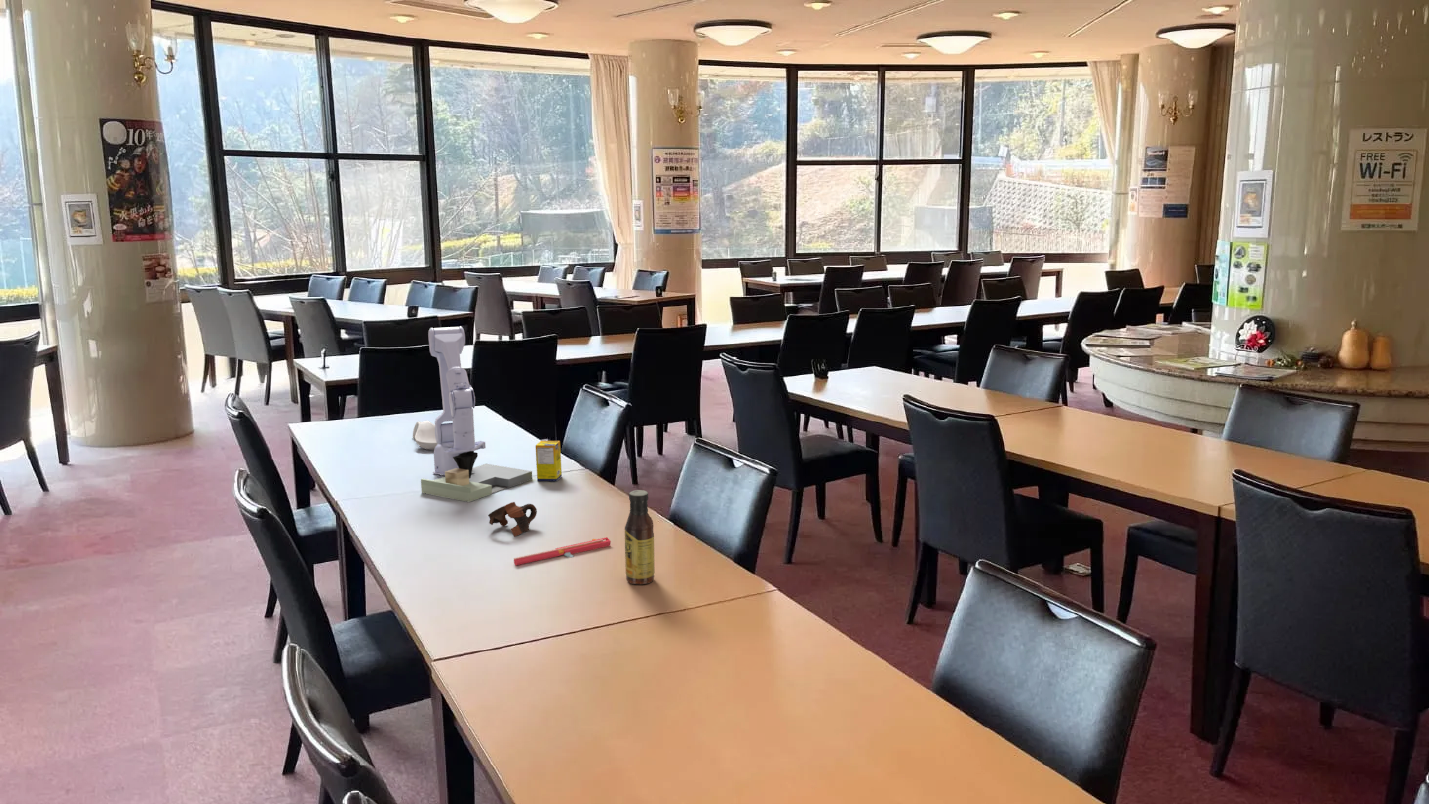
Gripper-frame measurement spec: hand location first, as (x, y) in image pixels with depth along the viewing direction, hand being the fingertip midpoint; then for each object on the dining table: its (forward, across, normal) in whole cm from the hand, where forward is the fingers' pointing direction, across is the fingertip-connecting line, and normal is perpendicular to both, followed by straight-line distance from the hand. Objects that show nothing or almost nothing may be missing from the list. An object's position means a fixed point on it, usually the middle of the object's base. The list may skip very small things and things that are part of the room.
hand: (466, 478), depth 287 cm
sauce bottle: (+4, -34, -83) cm, 90 cm away
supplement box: (+4, +20, -13) cm, 25 cm away
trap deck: (+3, +4, 0) cm, 6 cm away
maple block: (+1, -4, 0) cm, 4 cm away
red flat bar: (+4, -29, -58) cm, 65 cm away
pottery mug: (+4, -21, -36) cm, 42 cm away
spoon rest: (+4, +34, +51) cm, 62 cm away
